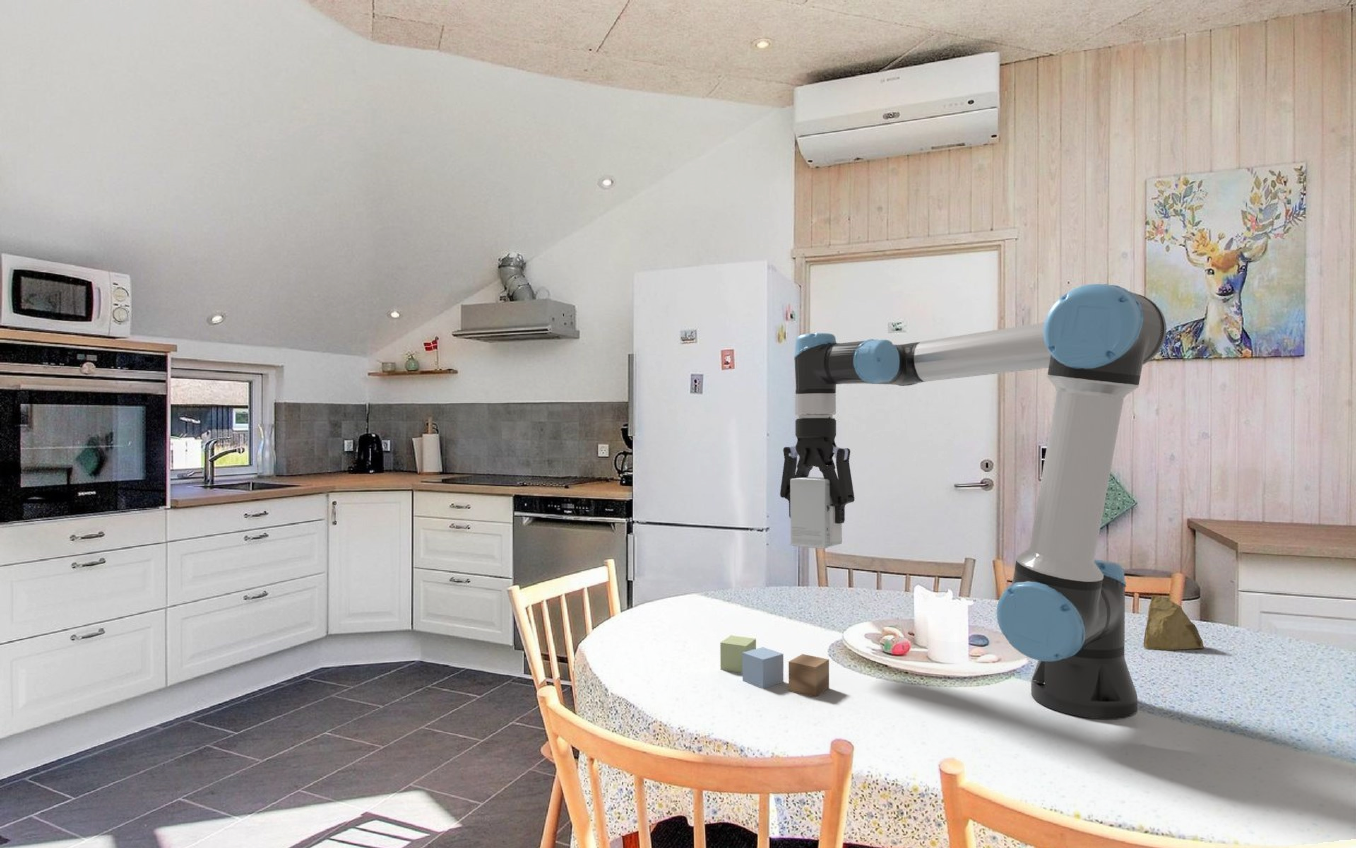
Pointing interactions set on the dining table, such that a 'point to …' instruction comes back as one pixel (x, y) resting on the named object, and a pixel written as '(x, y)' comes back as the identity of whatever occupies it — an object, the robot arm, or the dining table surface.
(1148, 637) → the rock
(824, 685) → the walnut cube
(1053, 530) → the robot arm
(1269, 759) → the dining table surface
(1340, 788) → the dining table surface
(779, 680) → the slate blue cube
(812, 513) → the supplement box
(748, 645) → the olive cube
